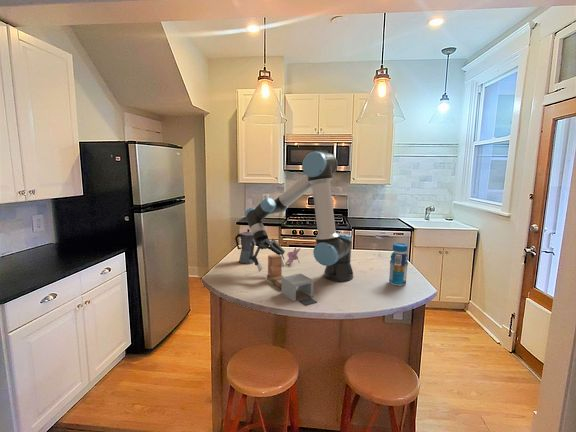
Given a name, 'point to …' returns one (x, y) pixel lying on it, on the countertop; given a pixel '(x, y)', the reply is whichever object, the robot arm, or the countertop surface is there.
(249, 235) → the moka pot
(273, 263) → the wooden pillar on base
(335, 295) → the countertop surface
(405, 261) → the beverage bottle
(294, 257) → the lily
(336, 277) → the robot arm
